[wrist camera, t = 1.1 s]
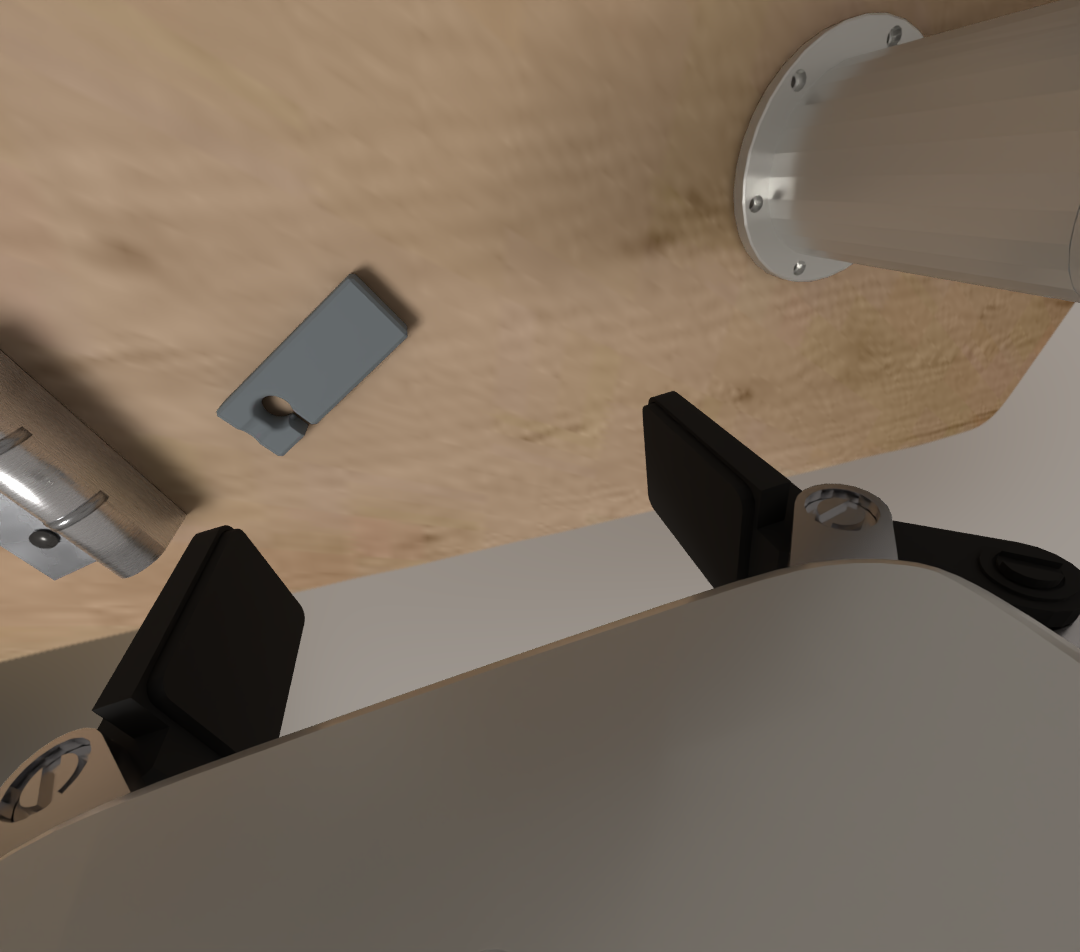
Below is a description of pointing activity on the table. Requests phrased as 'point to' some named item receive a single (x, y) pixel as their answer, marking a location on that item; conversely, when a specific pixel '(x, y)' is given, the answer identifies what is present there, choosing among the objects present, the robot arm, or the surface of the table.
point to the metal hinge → (71, 489)
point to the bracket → (316, 365)
